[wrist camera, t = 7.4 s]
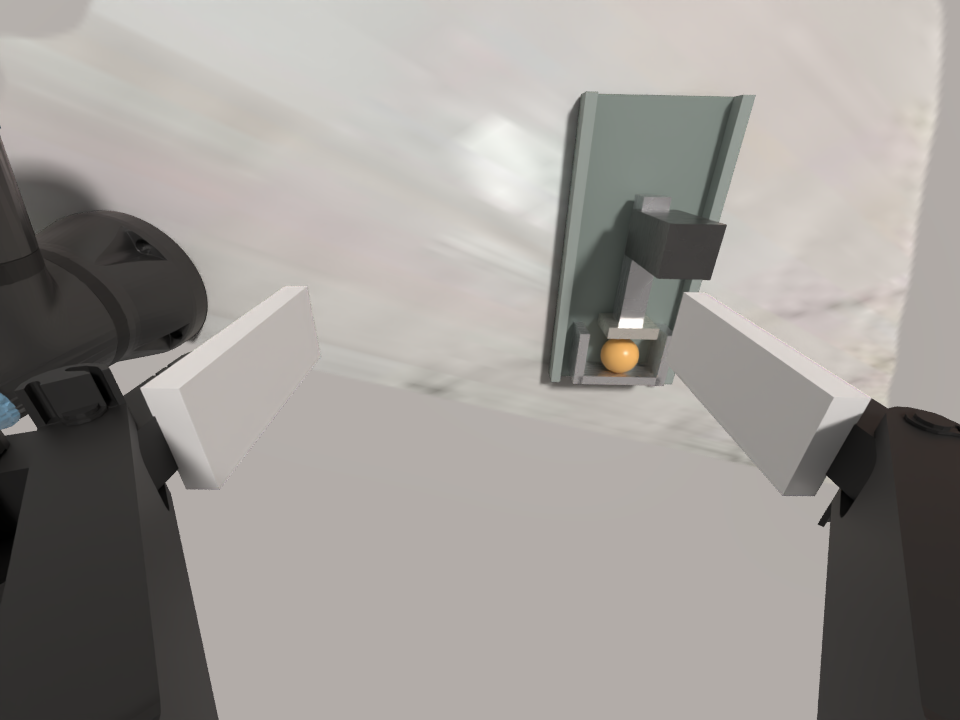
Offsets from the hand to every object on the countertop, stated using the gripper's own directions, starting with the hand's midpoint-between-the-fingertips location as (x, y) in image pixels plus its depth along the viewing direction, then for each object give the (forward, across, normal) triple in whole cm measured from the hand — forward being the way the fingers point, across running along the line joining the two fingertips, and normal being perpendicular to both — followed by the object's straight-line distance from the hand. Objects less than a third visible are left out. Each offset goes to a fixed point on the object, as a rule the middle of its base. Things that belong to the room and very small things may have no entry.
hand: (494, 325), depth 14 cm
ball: (+25, +15, -14) cm, 33 cm away
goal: (+28, +15, -14) cm, 35 cm away
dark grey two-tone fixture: (+27, +15, -4) cm, 31 cm away
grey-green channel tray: (+28, +15, -4) cm, 32 cm away
